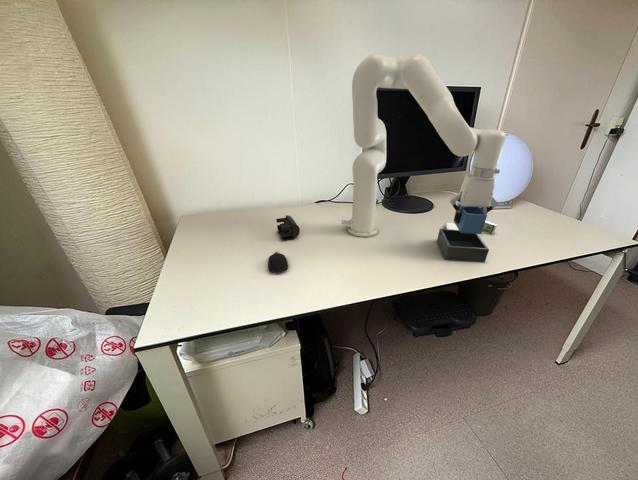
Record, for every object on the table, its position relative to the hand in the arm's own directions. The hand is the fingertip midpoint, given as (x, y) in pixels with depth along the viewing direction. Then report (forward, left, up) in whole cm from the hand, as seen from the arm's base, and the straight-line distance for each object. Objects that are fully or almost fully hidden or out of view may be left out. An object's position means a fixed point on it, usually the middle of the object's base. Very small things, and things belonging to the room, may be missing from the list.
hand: (467, 222), depth 100 cm
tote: (0, 0, -12) cm, 12 cm away
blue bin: (0, 0, -2) cm, 2 cm away
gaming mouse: (-66, -18, -12) cm, 70 cm away
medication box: (+15, +23, -12) cm, 30 cm away
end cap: (-68, +4, -12) cm, 69 cm away
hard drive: (+3, +18, -12) cm, 21 cm away
